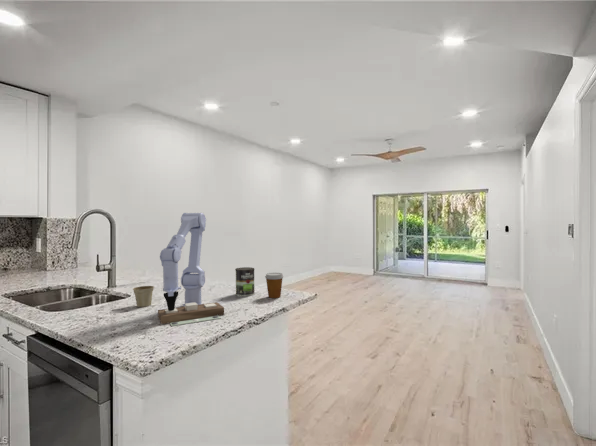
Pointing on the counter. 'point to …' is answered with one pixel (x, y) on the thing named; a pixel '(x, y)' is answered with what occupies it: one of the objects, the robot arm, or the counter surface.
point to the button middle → (191, 306)
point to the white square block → (210, 305)
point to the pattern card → (194, 320)
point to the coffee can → (245, 281)
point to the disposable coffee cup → (274, 284)
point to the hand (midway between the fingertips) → (171, 310)
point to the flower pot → (143, 295)
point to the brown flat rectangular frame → (190, 313)
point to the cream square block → (171, 311)
